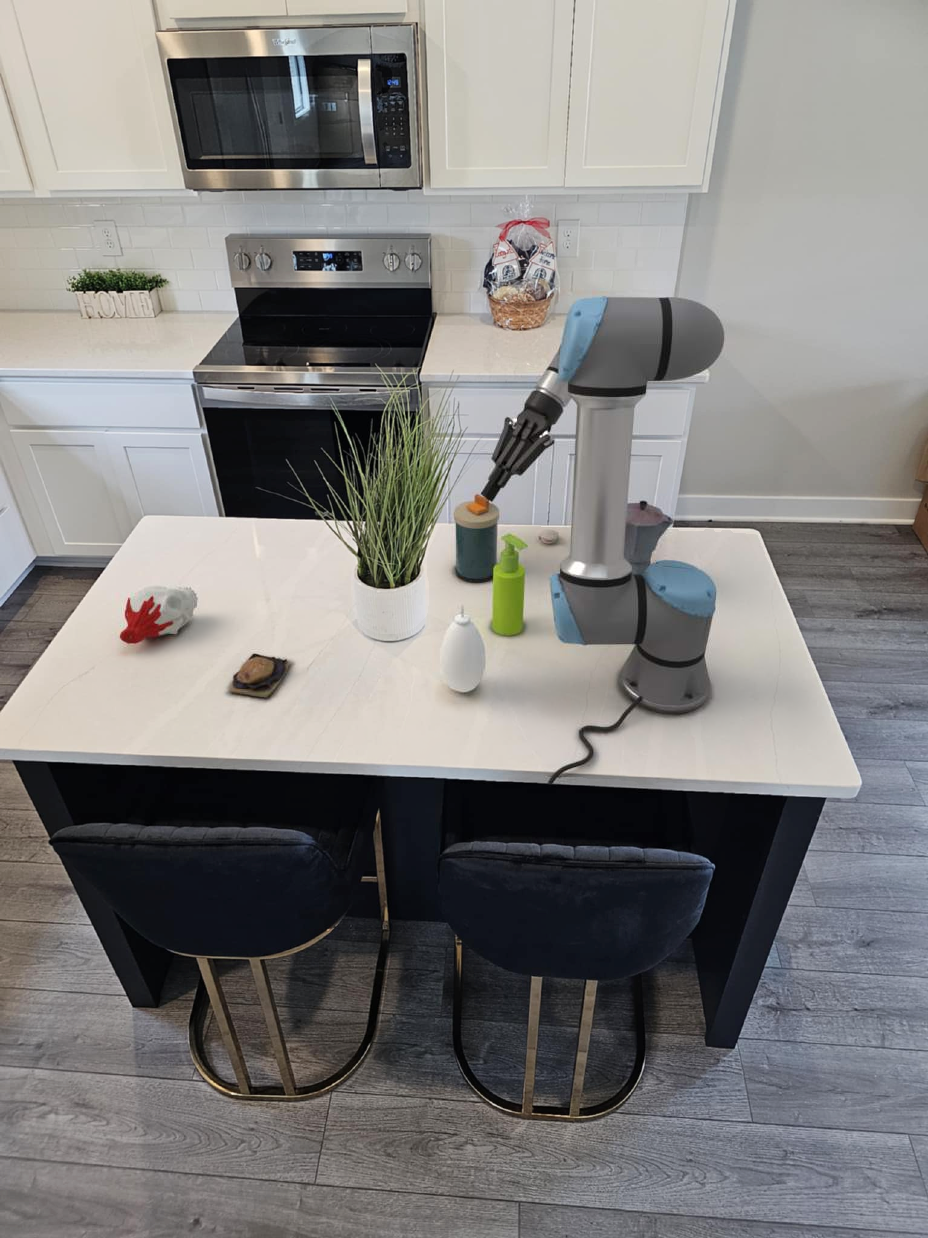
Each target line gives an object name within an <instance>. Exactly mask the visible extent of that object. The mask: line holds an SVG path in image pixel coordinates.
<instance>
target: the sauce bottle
mask: <svg viewBox="0 0 928 1238" xmlns="http://www.w3.org/2000/svg"><path fill="white" fill-rule="evenodd" d="M441 642H442V643H441V645H440V650H439V669H440V672H441V676H442V678H443V681H444V682H445V684H446V685H447V686H448V687H449V688H450V689H451V690H453V691H455V692H458V693H469V692H470V691H472V690H474V689H475V688H476V687H478V685H479V684H480V682H481V680H482V678H483V675H484V672H485V670H486V649H485V644H484V639H483V638H482V635H481V633H480V631H479V629H478V627H477V625H475V624H474V622H473V621H472V620H471V617H470V615H468V614H466V613H465V611H464V604H463V603H461V607H460V613H458V614H456V615H455V617H454V620H453V621H452V622H451V624H450V625H449V626H448V628H447V629H446V632H445V634H444V637H443V639H442V641H441Z"/></svg>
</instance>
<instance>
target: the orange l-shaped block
mask: <svg viewBox="0 0 928 1238" xmlns="http://www.w3.org/2000/svg"><path fill="white" fill-rule="evenodd" d="M474 501H475V502H473V503H470V504H468V505H466V508H467V509H469V510H470V511H472V512H474V513H476V514H481V513H483V512H486V511H488V510H489V503H490V501H489V500H488V499H486V498H485V497H484V496H482V495H481V494H478V493H476V494H474Z"/></svg>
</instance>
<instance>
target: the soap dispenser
mask: <svg viewBox="0 0 928 1238" xmlns="http://www.w3.org/2000/svg"><path fill="white" fill-rule="evenodd" d="M500 540H502V541H503V542H504V543H505V544H504V549H502V550H501V551H500V555H499V557H500V558H499V563H497V565H495V566H494V568H493V579H492V615H491V616H492V621H491V622H492V623H491V624H492V625H491V629H492V630H493V631H494V632H495V633H496V634H498V635H501V636H508V637H509V636H515V635H517V634H519V633H521V632H522V631H523V629H524V608H525V607H524V605H525V583H526V581H525V580H526V579H525V578H526V568H525V566H524V565H523V564H521V563H520V553H519V551H522V550H525V549H527V548H529V545H528V543H526V542H525V541H524V540H522V539H521V538H520V537H518V536H517V535H514V534H512V533H506V534H503V535H501V536H500ZM515 548H516V549H515Z"/></svg>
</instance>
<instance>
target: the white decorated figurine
mask: <svg viewBox="0 0 928 1238" xmlns="http://www.w3.org/2000/svg"><path fill="white" fill-rule="evenodd" d="M198 600H199V598H198V596H197V592H195V590H194V589H192V587H188V586H185V587H181V586H179V587H176V588H172V587H169V588H168V587H166V586H161V585H159V586H158V585H152V586H147V587H146V588H144V589H142V590H139V591H137V592H135V593H133V594H132V596H130V597H128V598H127V600H126V605H125V610H124V619H125V621H126V624H127V627H125V629H123V630H122V631H120V633H119V639H120V640H121V641H123V642H124V643H126V644H139V643H141V642H142V641H143V640H144V639H148V638H150V639H156V638H159V637H162V636H164V635H167V634H170V635H171V634H172V635H177V634H178V631H179V630H180V629H181V628H182V627H184V626H185V625H186V624H187V623H188V622H189V621H190V620H191V619H192V617H193V615H194V610H195V609H196V608H197V607H198Z"/></svg>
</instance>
